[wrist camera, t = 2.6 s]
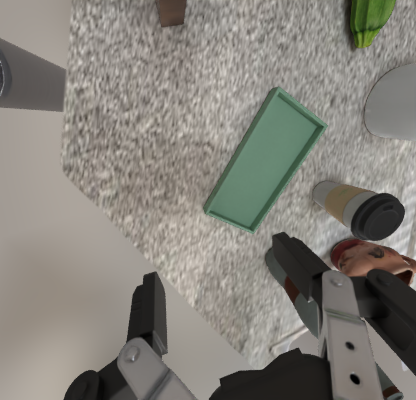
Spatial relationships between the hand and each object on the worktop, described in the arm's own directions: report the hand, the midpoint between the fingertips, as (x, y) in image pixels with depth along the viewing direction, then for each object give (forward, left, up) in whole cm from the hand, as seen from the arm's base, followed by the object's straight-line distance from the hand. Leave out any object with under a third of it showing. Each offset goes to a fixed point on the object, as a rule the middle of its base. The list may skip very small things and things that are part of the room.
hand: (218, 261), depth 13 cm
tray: (+15, -4, -29) cm, 33 cm away
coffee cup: (+31, -14, -29) cm, 45 cm away
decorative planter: (+41, -35, -29) cm, 61 cm away
